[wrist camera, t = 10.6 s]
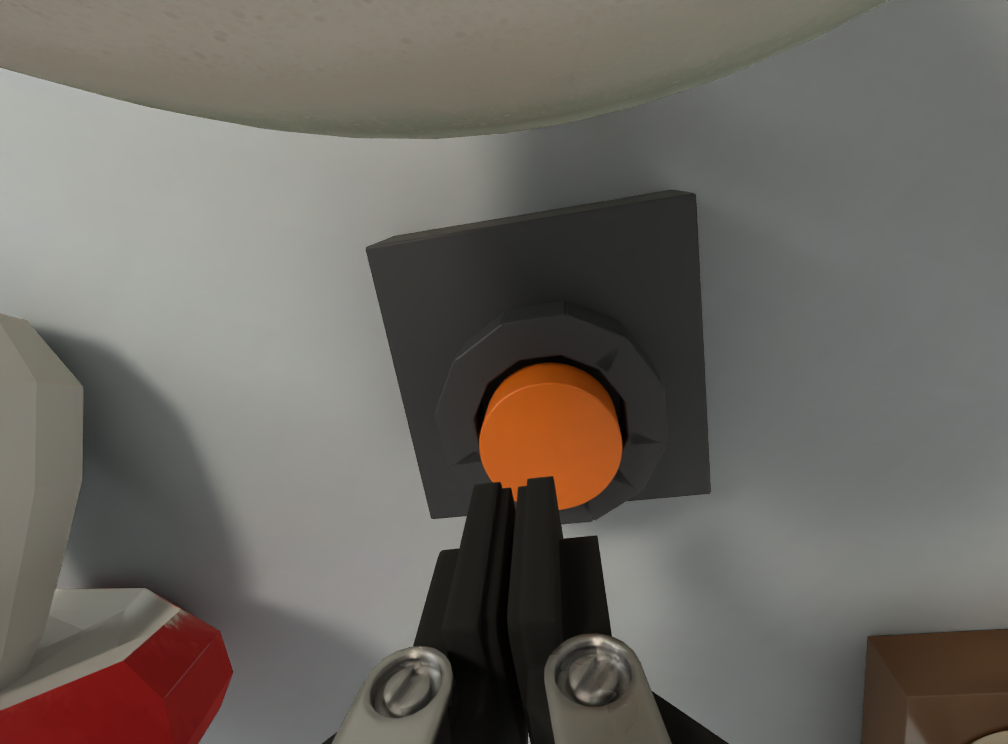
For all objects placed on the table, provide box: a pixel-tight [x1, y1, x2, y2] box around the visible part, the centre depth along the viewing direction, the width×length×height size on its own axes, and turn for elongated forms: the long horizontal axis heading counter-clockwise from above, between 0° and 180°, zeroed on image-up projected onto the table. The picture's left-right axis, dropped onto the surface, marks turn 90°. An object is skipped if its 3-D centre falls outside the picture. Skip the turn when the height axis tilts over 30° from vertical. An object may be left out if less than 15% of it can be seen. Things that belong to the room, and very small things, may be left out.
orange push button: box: [479, 363, 623, 510], centre depth 16 cm, size 4×4×2 cm
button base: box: [366, 190, 711, 524], centre depth 19 cm, size 10×10×5 cm
